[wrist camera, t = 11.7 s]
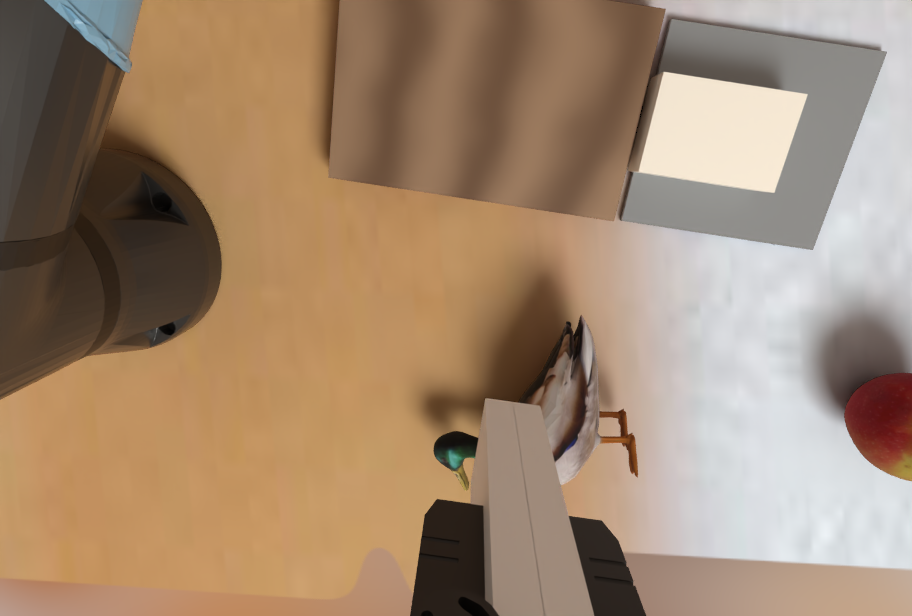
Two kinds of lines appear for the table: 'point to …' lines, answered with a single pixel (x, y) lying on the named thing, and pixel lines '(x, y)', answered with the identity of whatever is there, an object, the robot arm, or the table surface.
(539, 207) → the brown wooden board
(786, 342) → the table surface
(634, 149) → the tile
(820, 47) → the mat
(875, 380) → the apple
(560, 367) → the decorative duck model
